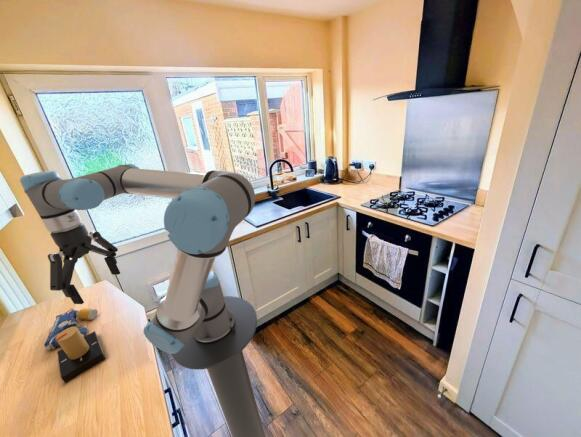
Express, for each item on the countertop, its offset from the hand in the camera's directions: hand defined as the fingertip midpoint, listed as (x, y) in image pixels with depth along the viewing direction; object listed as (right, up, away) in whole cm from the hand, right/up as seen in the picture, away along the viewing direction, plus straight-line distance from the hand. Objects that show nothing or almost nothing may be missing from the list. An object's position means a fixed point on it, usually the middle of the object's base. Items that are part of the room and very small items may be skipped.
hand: (99, 287), depth 77 cm
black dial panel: (-12, -27, +8) cm, 31 cm away
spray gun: (-26, -23, +22) cm, 41 cm away
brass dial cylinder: (-12, -24, +7) cm, 28 cm away
